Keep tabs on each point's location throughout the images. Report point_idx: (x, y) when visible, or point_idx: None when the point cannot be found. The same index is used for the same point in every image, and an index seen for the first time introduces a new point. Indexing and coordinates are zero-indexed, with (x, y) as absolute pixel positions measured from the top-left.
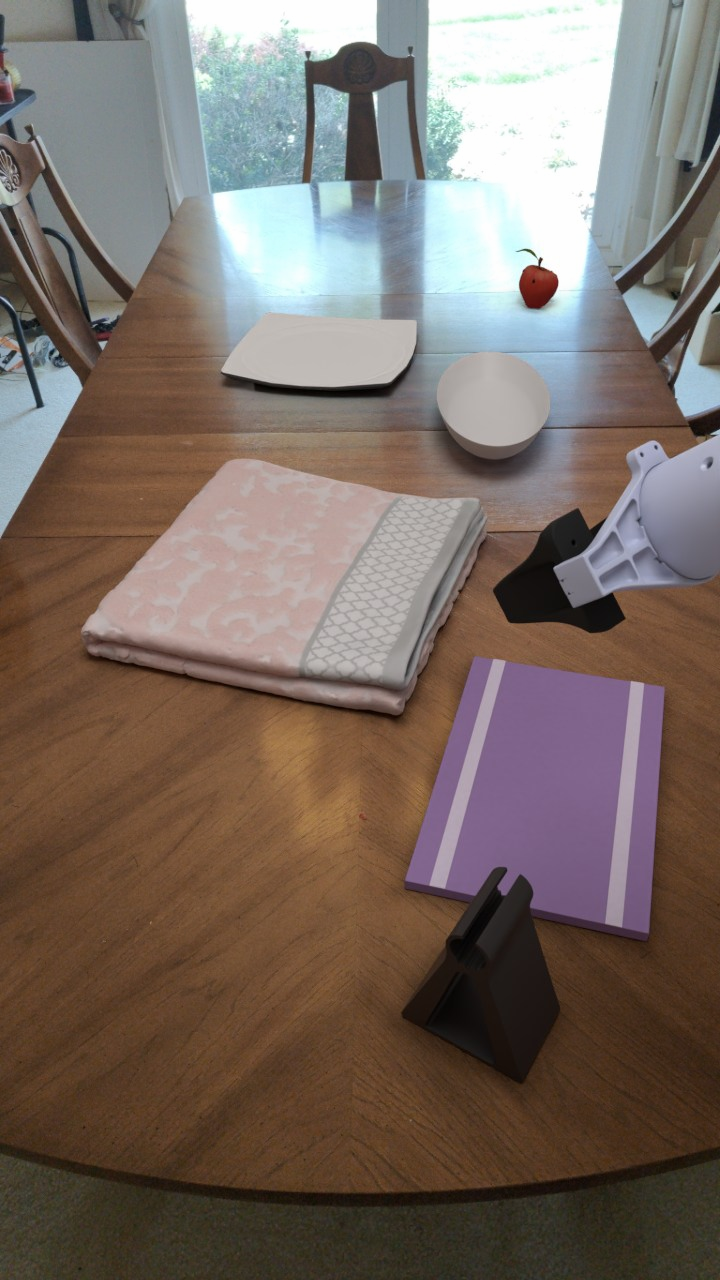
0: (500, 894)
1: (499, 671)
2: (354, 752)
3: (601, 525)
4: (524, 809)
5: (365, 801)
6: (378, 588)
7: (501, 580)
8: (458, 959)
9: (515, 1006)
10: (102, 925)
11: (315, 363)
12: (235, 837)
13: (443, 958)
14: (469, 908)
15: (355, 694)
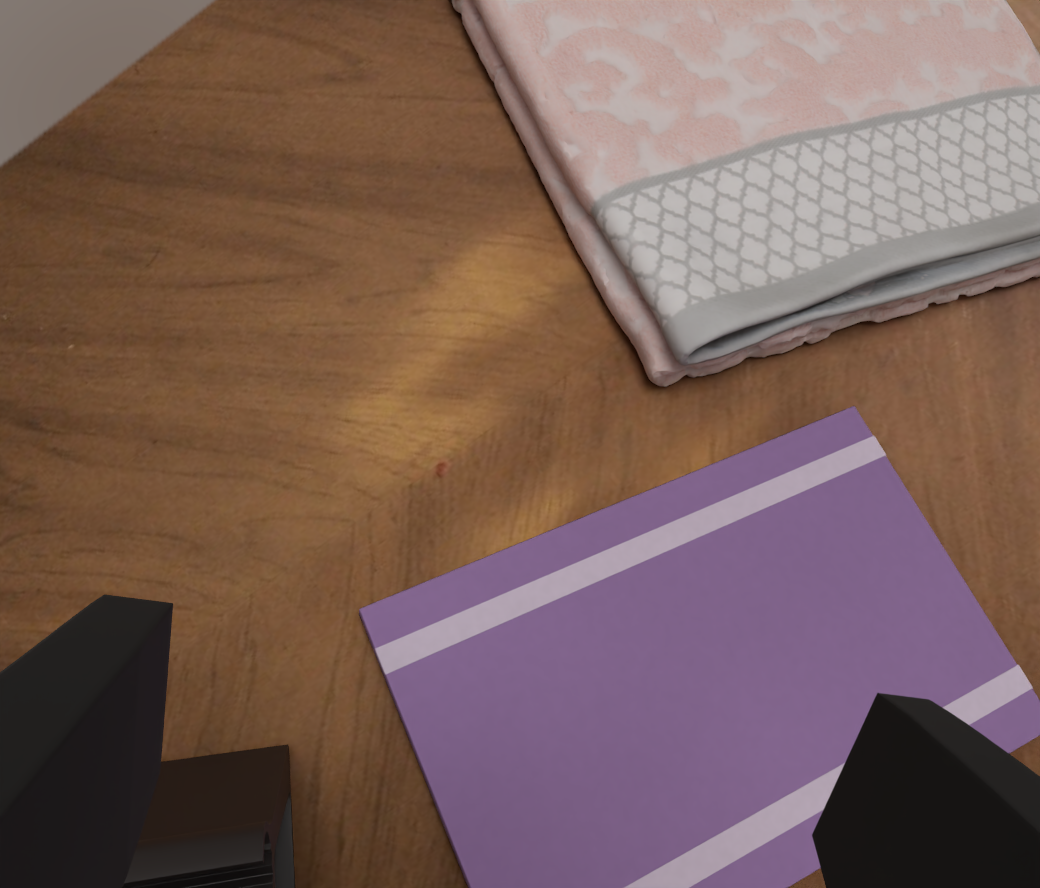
0: (268, 851)
1: (856, 461)
2: (544, 377)
3: (988, 814)
4: (623, 683)
5: (470, 453)
6: (839, 191)
7: (55, 634)
8: None
9: None
10: (26, 296)
11: None
12: (280, 341)
13: None
14: None
15: (627, 306)
